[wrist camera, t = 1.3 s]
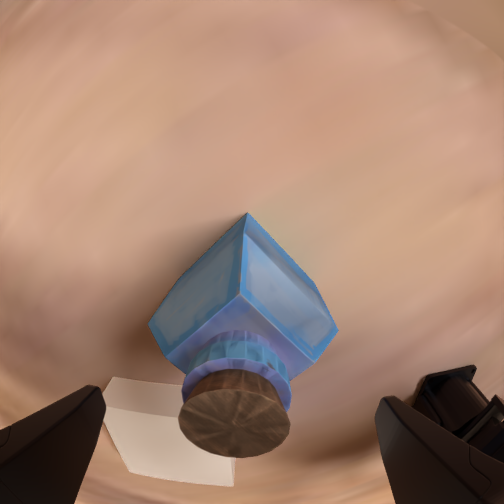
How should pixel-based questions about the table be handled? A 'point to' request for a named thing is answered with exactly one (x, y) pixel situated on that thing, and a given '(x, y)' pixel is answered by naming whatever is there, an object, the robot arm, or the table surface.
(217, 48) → the table surface
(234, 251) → the perfume bottle
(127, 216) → the table surface
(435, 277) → the table surface
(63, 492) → the robot arm
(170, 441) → the cream block
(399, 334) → the table surface
